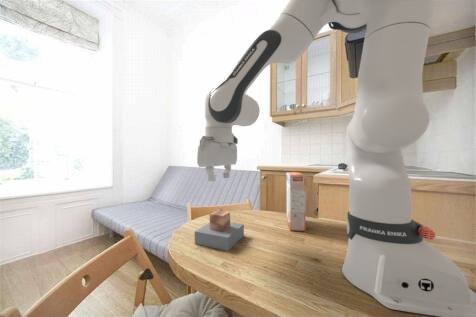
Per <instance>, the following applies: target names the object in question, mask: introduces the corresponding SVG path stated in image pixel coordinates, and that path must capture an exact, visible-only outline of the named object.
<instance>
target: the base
mask: <svg viewBox="0 0 476 317" xmlns="http://www.w3.org/2000/svg"><path fill="white" fill-rule="evenodd" d="M244 230H245V226H244V223H238V222H237V223H235V222H231V221H230V227H229V228H227V229H226V230H225V231H217V230H211V229H210V222H209V223H207V224H205V225H204V226H201V227H200V228H198V229H197V230H195V231H194V244H195V245H199V246H202V247H207V248H213V249H217V250H221V251H225V252H226V251H227V252H228V251H229V250H231V249H232V248H233V247H234V246H235V245H236V244H237V243H238V242H239V241H240V240H241V239H242V238H243V237H244V235H245V234H244V233H245V231H244Z"/></svg>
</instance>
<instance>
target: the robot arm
mask: <svg viewBox="0 0 476 317" xmlns="http://www.w3.org/2000/svg"><path fill="white" fill-rule="evenodd" d="M433 9H434V0H289V1H288V3H287V4H286V6H285V7H284V9H283V10H282V11H281V13H280V15H279V17H277V19H276V21H275V22H274V23H273V24H272V26H271V27H270V28H269V29H268V30H265V31H263V32H262V33H261V34H259V35H258V36H257V38H255V40H254V41H253V42H252V43H251V45H250V46H249V47H248V48H247V50H246V51H245V52H244V54H243V55H242V57H240V59H239V60H238V61H237V63H236V64H235V65H234V67H233V68H232V69H231V71H230V72H229V73H228V75H226V76H225V78H224V79H223V80H222V81H221V82H220V83H218V84H217V85H216V86H215V87H213V88H211V89H209V90H208V91H207V93H206V96H205V102H204V117H205V121H206V123H205V128H204V129H205V134H204V135H202V137H201V138H200V139H199V144H198V147H197V154H196V155H197V156H196V163H197V165H198V167H200V168H205V172H206V174H207V179H208V181H209V182H214V181H216V178H217V177H216V174H214V173H215V172H214V170H215V167H221V166H224V167H223V168H224V172H222V175H223V179H229V178H230V176H231V175H230V173H231V170H232V166H233V165H236V164H237V160H238V147H237V145H238V144H239V140H238V138H237V137H236V136H235V135H234V133H233V129H232V128H233V126H238V127H239V126H240V127H249V126H252V125H253V124H255V122H256V121H257V120H258V118H259V115H260V105H259V104H258V102H257V101H256V99H254V98H253V97H251V96H250V95H248V94H246V93H247V91H248V90H249V89H250V87H251V86H252V85H253V84H254V82H255V81H256V80H257V79H258V77H259V76H260V74H261V73H262V72H263V71H264V70H265V69H266V68H267V67H269V66H270V65H272V64H276V63H278V64H291V63H293V62H296V61H297V60H299V58H300V57H301V56H302V55H303V54H305V52H306V51H307V50H308V48H309V47H310V46H311V44H312V43H313V41H314V40H315V38H316V37H317V36H318V35H319V33H320V32H321V30H322V29H323V28H324V27H325V26H326V25H328V26H329V28H330V29H332V30H337V31H341V32H342V33H345V34H346V33H347V34H358V33H361V32H363V31H365V35H364V39H363V45H362V50H361V52H362V53H361V57H360V62H359V69H358V75H357V86H356V87H357V88H356V97H355V106H354V111H353V115H352V118H351V120H350V121H349V123H348V124H347V127H346V132H345V134H346V135H345V136H346V138H345V139H346V154H347V156H346V157H347V158H346V159H347V168H348V181H349V185H348V186H349V191H348V192H349V194H348V196H349V197H348V198H349V202H348V203H349V206H348V207H349V211H348V212H347V217H346V234H347V237H348V241H347V248H346V255H345V258H344V262H343V265H342V268H341V271H342V274H343V275H344V277H345V278H346V279H347V281H348V282H350V284H352V285H353V286H355V287H356V288H358V289H359V290H361V291H363V292H364V293H366V294H368V295H369V296H372V297H373V298H374V299H375V300H376V301H378V303H380V304H382V306H384V307H386V308H388V309H391V310H395V311H402V312H408V313H415V314H421V315H428V316H435V317H476V292H475V291H473V290H472V289H471V288H470V287H469V285H468V282H467V279H466V276H465V275H464V272H462V270H461V269H460V267H458V265H457V264H456V263H455V262H453V261H452V260H451V259H450V258H449V257H447V256H446V255H445V254H443V253H442V252H441V251H439V249H436V248H435V246H433V245H431V243H429V242H427V241H432V240H434V239H436V236H437V235H436V232H435V231H434V230H432V229H431V228H430V227H428V226H424V225H423V224H421V223H420V222H418V221H416V220H414V219H413V218H412V184H411V183H412V182H411V180H410V177H409V175H408V173H407V169H406V166H405V162H404V161H405V160H404V156H403V152H402V151H403V150H405V149H407V148H409V147H410V146H411V145H413V144H415V143H416V142H417V141H418V140H419V139H420V138H421V137H422V136H423V135H424V133H425V132H426V131H427V128H428V127H429V122H430V113H429V110H428V108H427V107H426V105H425V103H424V86H423V70H424V64H425V60H426V54H427V49H428V43H429V39H430V38H429V37H430V33H431V25H432V20H433V13H434V10H433ZM424 239H425V240H424Z"/></svg>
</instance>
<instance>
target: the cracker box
mask: <svg viewBox="0 0 476 317" xmlns="http://www.w3.org/2000/svg"><path fill="white" fill-rule="evenodd" d="M285 174H286V175H285V176H286V177H285V178H286V221H287V225H288V227H289V228H288V229H289V230H290V231H292V232H293V231H295V232H306V179H307V178H306V175H305V174H303V173H301V172H297V171H291V172H289V171H288V172H285Z"/></svg>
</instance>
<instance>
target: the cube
mask: <svg viewBox="0 0 476 317" xmlns="http://www.w3.org/2000/svg"><path fill="white" fill-rule="evenodd" d="M230 222H231V211H228V210H218V209H217V210H216V211H213V212H212V213H209V223H210V229H211V230H217V231H225V230H226V229H227V228H229V227H230Z"/></svg>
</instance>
